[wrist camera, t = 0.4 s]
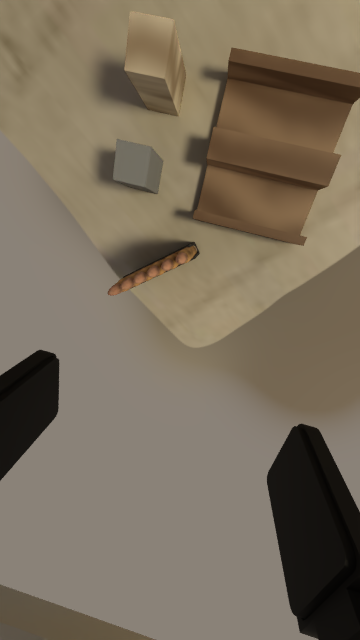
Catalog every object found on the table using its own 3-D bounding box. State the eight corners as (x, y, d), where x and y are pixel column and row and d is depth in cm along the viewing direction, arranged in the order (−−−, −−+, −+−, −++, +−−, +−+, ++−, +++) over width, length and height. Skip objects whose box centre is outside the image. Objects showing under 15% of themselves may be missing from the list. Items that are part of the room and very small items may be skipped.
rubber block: (134, 154, 32) (116, 138, 26) (163, 160, 31) (151, 146, 26) (130, 187, 33) (112, 179, 28) (157, 193, 33) (145, 187, 27)
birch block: (153, 68, 28) (130, 10, 21) (186, 74, 28) (174, 19, 20) (148, 109, 30) (124, 70, 22) (178, 116, 29) (164, 78, 22)
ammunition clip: (139, 282, 38) (106, 304, 27) (133, 271, 38) (97, 289, 26) (199, 253, 35) (190, 265, 24) (194, 241, 34) (182, 248, 23)
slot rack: (230, 72, 27) (231, 47, 23) (352, 97, 26) (374, 76, 23) (195, 219, 33) (192, 218, 30) (293, 243, 32) (303, 245, 29)
